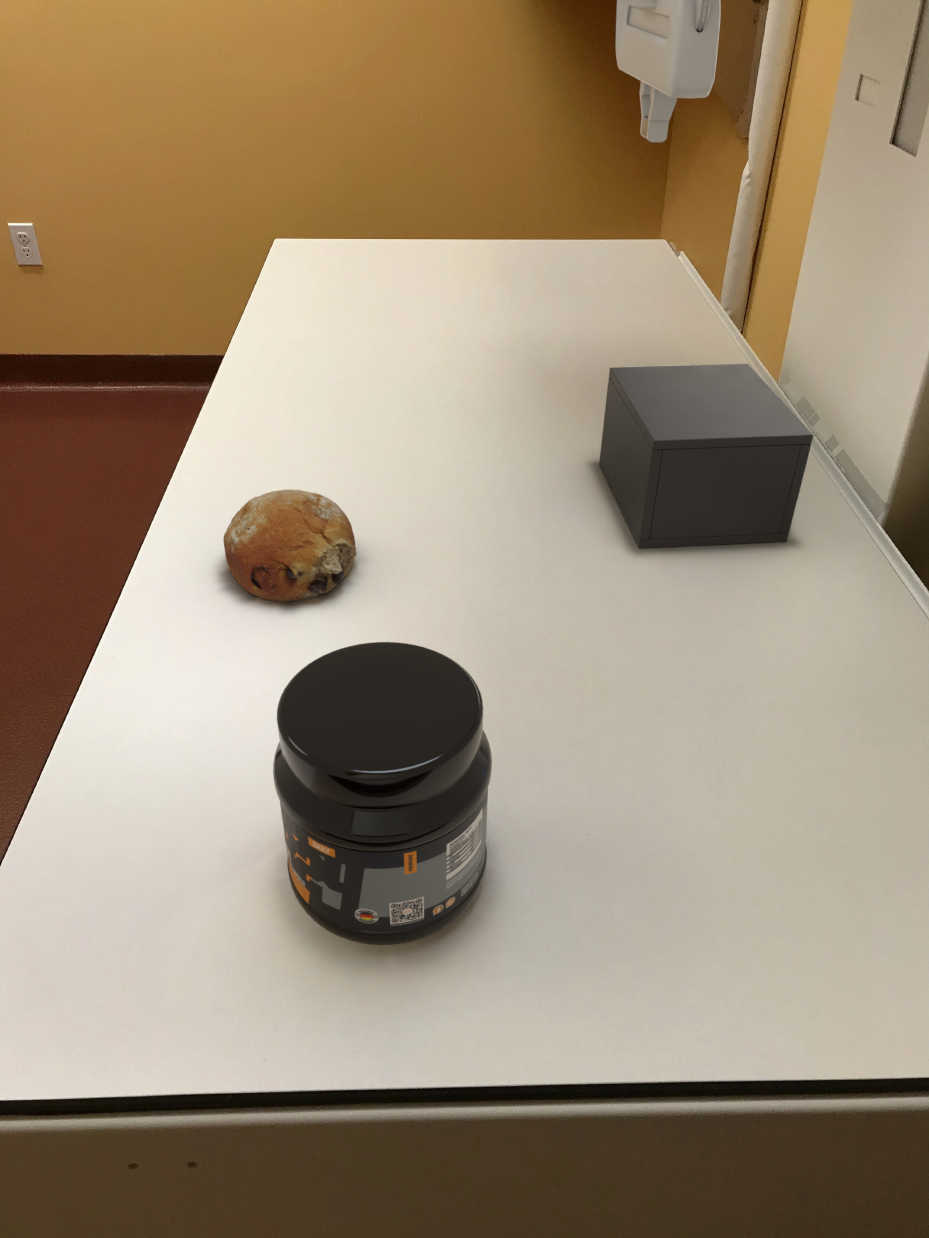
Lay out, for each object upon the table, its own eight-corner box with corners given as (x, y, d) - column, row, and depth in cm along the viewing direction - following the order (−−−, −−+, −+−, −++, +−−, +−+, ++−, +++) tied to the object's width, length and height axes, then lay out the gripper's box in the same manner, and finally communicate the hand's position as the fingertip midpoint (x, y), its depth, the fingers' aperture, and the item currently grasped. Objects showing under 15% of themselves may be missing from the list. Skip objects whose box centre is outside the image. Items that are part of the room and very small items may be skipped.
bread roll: (349, 574, 81) (335, 479, 79) (374, 591, 71) (358, 483, 69) (230, 594, 78) (213, 496, 76) (239, 614, 68) (219, 502, 67)
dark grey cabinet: (598, 465, 90) (609, 367, 84) (728, 460, 91) (748, 363, 85) (638, 548, 78) (653, 440, 72) (787, 541, 79) (814, 435, 74)
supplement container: (301, 798, 55) (281, 632, 48) (483, 797, 56) (489, 632, 49) (276, 957, 47) (246, 785, 40) (490, 956, 47) (499, 784, 40)
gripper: (751, -36, 73) (721, 162, 81) (676, -45, 89) (657, 121, 97) (670, -37, 72) (648, 162, 80) (610, -45, 89) (596, 121, 97)
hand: (652, 139), depth 89 cm, fingers closed
